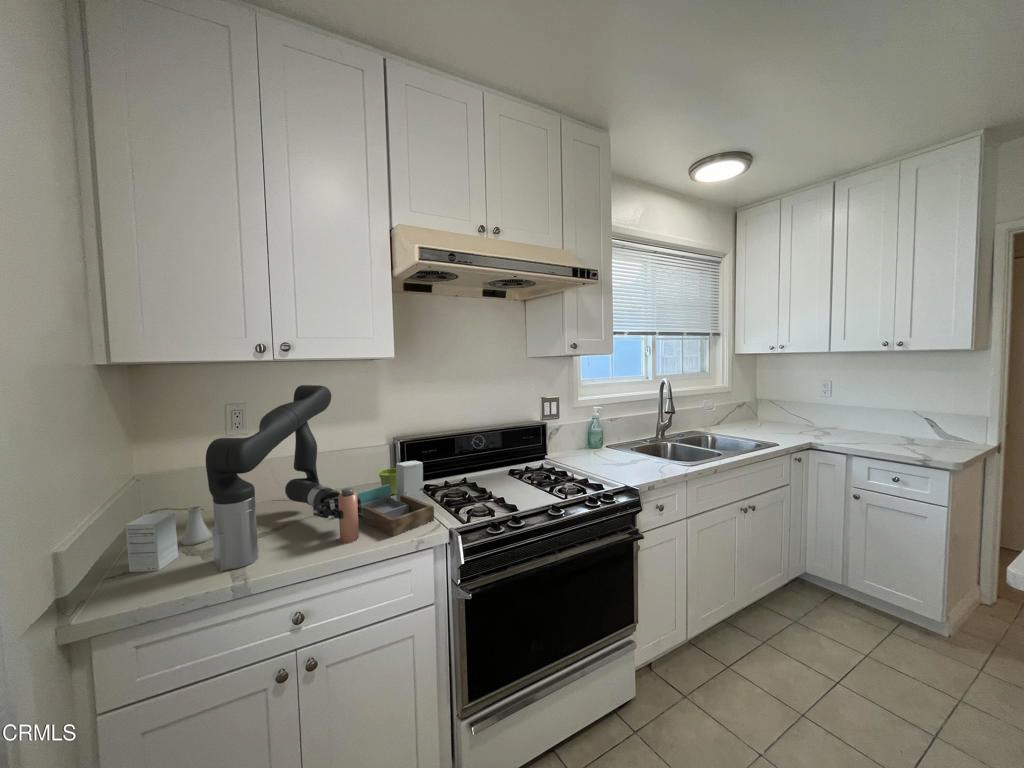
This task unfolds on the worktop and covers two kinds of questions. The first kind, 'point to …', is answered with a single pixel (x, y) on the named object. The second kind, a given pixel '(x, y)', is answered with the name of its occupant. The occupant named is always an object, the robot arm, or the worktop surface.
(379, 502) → the tray
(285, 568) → the worktop surface
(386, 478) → the plant pot
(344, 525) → the bottle
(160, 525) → the supplement box
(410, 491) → the skincare box
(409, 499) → the wooden storage box
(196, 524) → the flask
